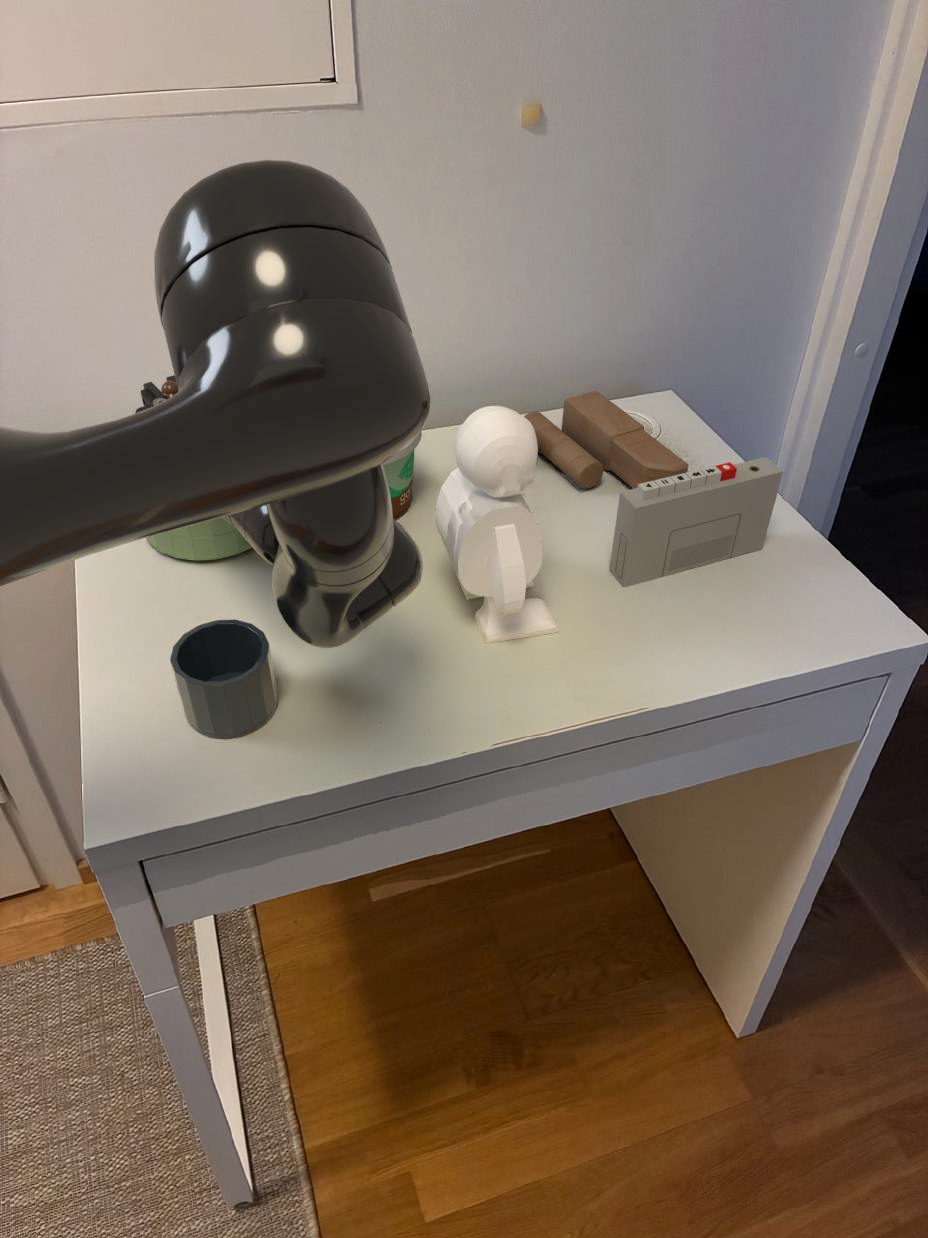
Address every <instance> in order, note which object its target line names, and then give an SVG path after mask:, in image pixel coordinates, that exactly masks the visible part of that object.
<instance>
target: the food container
mask: <svg viewBox="0 0 928 1238" xmlns="http://www.w3.org/2000/svg"><path fill="white" fill-rule="evenodd" d="M422 436H423V434H422V431H421V432H420V433H419V434H418V435H417V437H416V438H415V439H414V440H413V441H412V442H411V443H410V444H409V445H408V446H407V447H406V448H404V449H403V450H402V451H400V452H399V453H397V454H396V455H394V456H393V457H391V458H390V459H388V460H387V461H385V462H384V463H383V465H384V469H385V473H386V477H387V481H388V486H389V491H390V497H391V503H392V511H393V519H395V520H396V521H398V520H400V519H401V518H402V517H403V516H404V515H406V514H407V512H409V509H410V508H411V506H412V503H413V486H414V485H413V484H414V468H415V466H414V465H415V450H416V448H417V447H418V446H419V444H420V443H421V439H422Z"/></svg>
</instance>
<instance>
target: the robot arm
mask: <svg viewBox="0 0 928 1238" xmlns="http://www.w3.org/2000/svg"><path fill="white" fill-rule="evenodd" d="M153 259H154V260H153V261H154V263H153V264H154V265H153V267H154V275H153V277H154V293H155V299H156V306H157V309H158V315H159V319H160V323H161V327H162V329H163V333H164V337H165V342H166V345H167V349H168V353H169V357H170V358H169V359H170V361H171V367H172V370H173V375H169V376H166V379H165V380H166V381H174V382H176V383H177V387H178V391H179V392H178V393H177V394H176V395H174V396H173V397H171V398H169V399H166V396H165V395H164V394H162V391H161V389H159V388H158V387H157V386H156V385H155V383H153V381H148V382H146V383H143V389H140V397H141V400H142V405H143V406H140V407H138V408H137V409H136V410H135V412H134V413H133V414H130V415H127V416H123V417H121V418H117V419H114V420H111V421H106V422H102V423H98V424H94V425H90V426H85V427H81V428H76V429H72V430H68V431H54V432H50V431H35V430H34V431H33V430H23V429H18V428H12V427H8V426H3V425H0V587H3V586H7V585H8V584H11V583H13V582H16V581H19V580H22V579H25V578H28V577H30V576H33V575H35V574H38V573H41V572H44V571H46V570H49V569H52V568H55V567H58V566H60V565H64V564H67V563H69V562H72V561H76V560H79V559H81V558H85V557H87V556H90V555H93V554H97V553H100V552H103V551H107V550H110V549H112V548H116V547H119V546H122V545H126V544H130V543H133V542H136V541H140V540H143V539H146V538H147V537H150V536H154V535H158V534H162V533H165V532H169V531H173V530H176V529H180V528H184V527H187V526H191V525H195V524H199V523H202V522H206V521H210V520H213V519H217V518H222V519H223V520H224V521H225V522H227V523H228V524H229V525H231V526H232V527H233V528H235V529H236V530H237V531H238V532H239V533H240V534H241V535H242V536H243V537H244V538H245V539H246V541H247V542H248V543H249V544H250V545H251V546H252V549H253V550H254V551H255V552H256V553H257V555H259V556H260V557H261V558H262V559H263V560H264V561H266V562H267V563H268V564H269V565H272V572H271V587H272V594H273V598H274V602H275V605H276V607H277V609H278V612H279V614H280V616H281V618H282V620H283V622H284V623H285V625H286V626H287V627H288V628H289V630H290V631H291V632H292V633H293V634H294V635H295V636H296V637H297V638H299V640H302V641H303V642H304V643H306V644H308V645H310V646H312V647H315V648H319V649H333V648H337V647H341V646H343V645H345V644H347V643H349V642H350V641H352V640H353V639H355V638H356V637H357V636H358V635H360V634H361V633H362V632H364V631H365V630H366V629H367V628H369V627H370V626H371V625H373V624H374V623H375V622H377V621H378V620H379V619H381V618H382V617H383V616H384V615H386V614H387V613H388V612H389V611H391V610H392V609H393V608H394V607H396V606H397V605H399V604H400V603H401V602H403V601H404V600H406V599H407V598H408V597H409V596H410V595H411V594H413V592H414V591H415V590H416V589H417V588H418V586H419V585H420V583H421V581H422V577H423V571H424V565H423V557H422V553H421V550H420V548H419V545H418V544H417V541H416V540H415V539H414V537H413V536H412V534H411V533H410V532H409V531H408V530H407V529H406V528H405V527H404V526H403V525H402V524H401V523H399V521H398V520H395V519H393V511H392V503H391V497H390V491H389V486H388V481H387V477H386V473H385V469H384V465H383V463H384V462H385V461H387V460H388V459H390V458H391V457H393V456H394V455H396V454H397V453H399V452H400V451H402V450H403V449H404V448H406V447H407V446H408V445H409V444H410V443H411V442H412V441H413V440H414V439H415V438H416V437H417V435H418V434H419V433H420V432H422V431H423V429H424V427H425V426H426V425H427V421H428V418H429V415H430V411H431V403H432V402H431V394H430V390H429V389H430V388H429V383H428V380H427V376H426V371H425V369H424V365H423V363H422V360H421V357H420V353H419V350H418V347H417V343H416V340H415V338H414V335H413V332H412V327H411V324H410V321H409V318H408V315H407V312H406V309H405V306H404V302H403V299H402V296H401V293H400V289H399V287H398V283H397V280H396V277H395V274H394V271H393V267H392V265H391V261H390V257H389V255H388V252H387V249H386V246H385V244H384V241H383V239H382V237H381V236H380V234H379V232H378V230H377V228H376V226H375V224H374V222H373V220H372V218H371V217H370V215H369V212H368V211H367V209H366V207H364V205H363V204H362V203H361V202H360V200H359V199H358V198H357V197H356V196H355V195H354V194H353V192H352V191H351V190H350V188H348V187H347V186H346V185H344V184H343V183H342V182H340V181H339V180H337V179H336V178H335V177H333V176H332V174H328V173H326V172H324V171H322V170H319V169H318V168H315V167H313V166H311V165H308V164H303V163H299V162H295V161H291V160H278V159H262V160H261V159H260V160H254V161H247V162H246V161H245V162H239V163H237V164H233V165H230V166H226V167H223V168H221V169H219V170H217V171H215V172H212V173H211V174H209V175H207V176H205V177H203V178H201V179H199V180H198V181H197V182H196V183H195V184H194V185H192V186H190V187H189V188H188V189H187V190H185V191H184V192H183V193H182V195H181V196H180V197H179V198H178V200H177V201H176V202H175V203H174V204H173V205H172V207H170V209H169V210H168V213H167V215H166V216H165V219H164V220H163V223H162V224H161V226H160V228H159V232H158V236H157V239H156V245H155V249H154V257H153Z"/></svg>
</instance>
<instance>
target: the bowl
mask: <svg viewBox="0 0 928 1238" xmlns="http://www.w3.org/2000/svg"><path fill="white" fill-rule="evenodd" d="M145 539H146V541H147V543H148V544H150V545H151V546H152V547H153V548H154V549H155V550H156V551H158V552H159V553H162V554H164V555H167V556H170V557H172V558H175V559H180V560H187V561H188V560H189V561H196V562H198V561H211V560H219V559H220V560H221V559H224V558H228V557H231V556H235V555H239V554H242V553H244V552H246V551H248V550H250V549H253V547H252V546H251V545H250V544H249V543H248V542H247V541H246V539H245V538H244V537H243V536H242V535H241V534H240V533H239V532H238V531H237V530H236V529H235V528H233V527H232V526H231V525H229V524H228V523H227V522H225V521H224V520H223V519H222V518H217V519H213V520H210V521H206V522H202V523H199V524H195V525H191V526H187V527H184V528H180V529H176V530H173V531H169V532H165V533H162V534H158V535H154V536H150V537H147V538H145Z"/></svg>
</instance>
